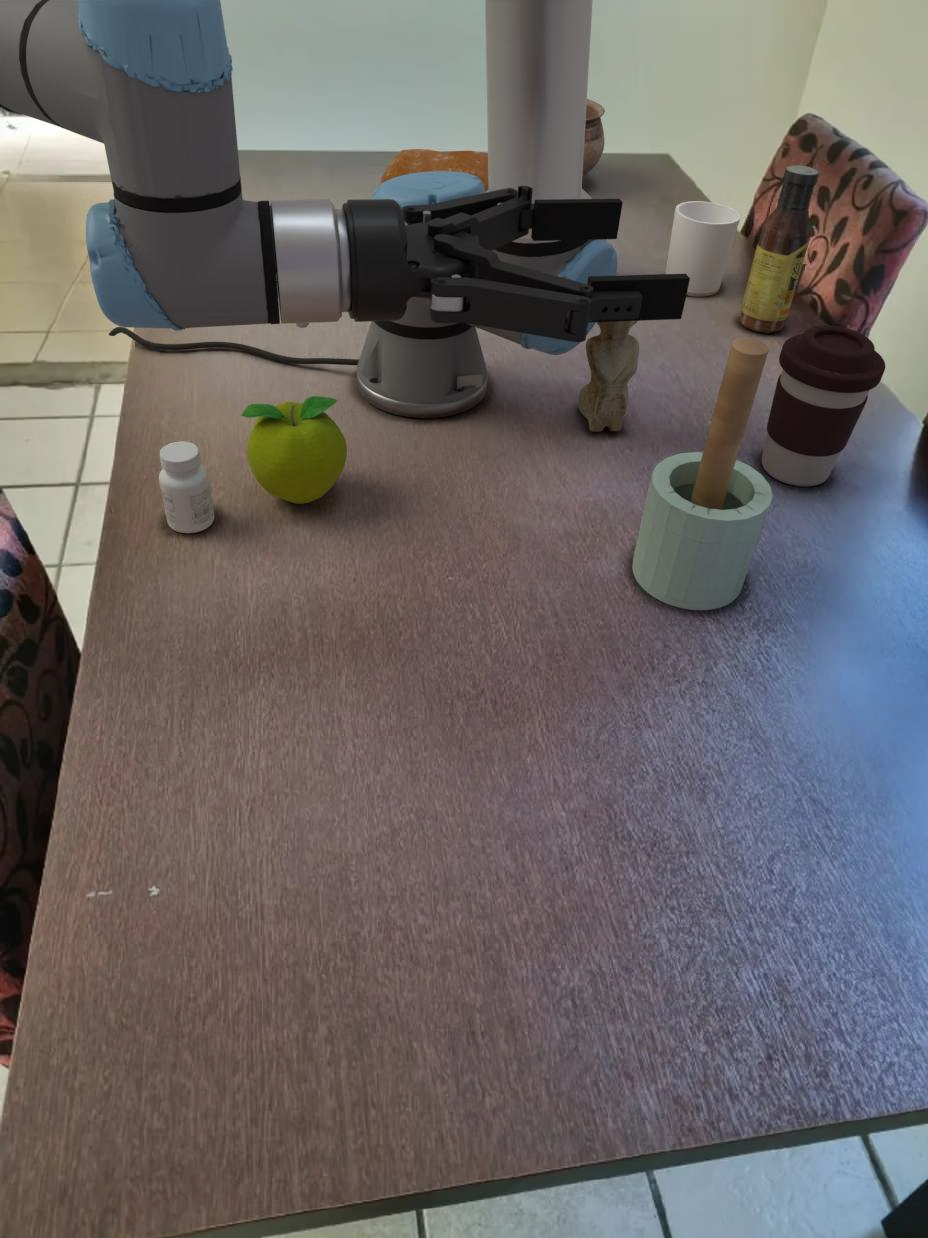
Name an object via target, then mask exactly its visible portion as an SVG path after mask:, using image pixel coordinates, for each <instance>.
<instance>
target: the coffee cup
mask: <svg viewBox="0 0 928 1238" xmlns="http://www.w3.org/2000/svg"><path fill="white" fill-rule="evenodd" d="M778 362H779V365H780V367H781V373H780V374H779V376H778V378H777V381H776V386H775V389H774V394H773V398H772V403H771V407H770V411H769V415H768V419H767V424H766V432H767V434H766V438H765V442H764V446H763V450H762V455H761V465H762V467H763V470H764V471H765V472H766V473H767V474H768V475H769V476H771V477H772V478H774V479H775V480H777V481H779V482H781V483H784V484H787V485H791V486H795V487H815V486H818V485H821V484H823V483H824V482H825V481H827V480H828V478H830V475H831V473H832V471H833V470H834V467H835V464H836V463H837V461H838V459H839V457H840V454H841V452H842V451H843V450H844V449H845V448H846V446H847V444H848V443H849V440H850V437H851V435H852V433H853V432H854V430H855V427H856V425H857V423H858V421H859V418H860V417H861V414H862V412H863V411H864V408H865V406H866V404H867V401H868V399H869V398H868V397H869V396H868V395H869V392H870V390H873V389H874V388H876V387H878V385H879V384H880V383H881V381H882V379H883V375H884V373H885V371H886V362H885V360H884V358H883V357H882V355H881V354H880V353H879V352H877V351H876V348H875V345H874V343H873V341H872V340H871V339H870V338H869V337H868V336H866V335H864V334H863V333H861V332H858V331H856V330H854V329H850V328H848V327H843V326H838V325H830V324H829V325H828V324H827V325H826V324H824V325H823V324H822V325H815V326H811V327H809V328H808V329H806V330H805V331H803V332H802V333H800V334H795V335H792V336H790V337H789V338H787V339H786V340H785V341H784V343H783V344H782V347H781V350H780V353H779V357H778Z"/></svg>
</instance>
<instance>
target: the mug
mask: <svg viewBox="0 0 928 1238" xmlns="http://www.w3.org/2000/svg"><path fill="white" fill-rule="evenodd" d="M740 220H741V214H740V213H739V211H738V210H736V209H734V208H732V207H730V206H728V205H725V204H721V203H717V202H713V201H703V200H700V201H699V200H692V201H691V200H690V201H684V202H681V203H679V204H677V205H676V206H675V210H674V215H673V221H672V228H671V235H670V241H669V246H668V252H667V259H666V266H665V273H664V274H687V276H688V277H689V278H690V281H689V286H688V290H687V295H686V296H689V297H702V298H703V297H709V296H713V295H715V294H717V292H718V291H720V288H721V285H722V282H723V278H724V274H725V272H726V268H727V264H728V261H729V258H730V255H731V251H732V248H733V244H734V241H735V238H736V234H737V230H738V227H739V225H740Z"/></svg>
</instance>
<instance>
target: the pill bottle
mask: <svg viewBox="0 0 928 1238" xmlns="http://www.w3.org/2000/svg"><path fill="white" fill-rule="evenodd" d="M159 460H160V465H161V470H160V471H159V475H158V483H159V488H160V493H161V497H162V502H163V508H164V513H165V519H166V522H167V524H168V526H169V527H170V529H172V530H173V531H175V532H178V533H183V534H196V533H199V532H202V531H204V530H206V529H208V528H209V527H210V526H211V525H213V523H214V520H215V509H214V503H213V496H212V491H211V484H210V477H209V472H208V470H207V469H206V467H205V466H204V465H203V464H202V458H201V453H200V449H199V447H198V445H196V444H194V443H193V442H189V441H182V440H181V441H175V442H170V443H167V444H166V445H163V447H161V449H160V450H159Z"/></svg>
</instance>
